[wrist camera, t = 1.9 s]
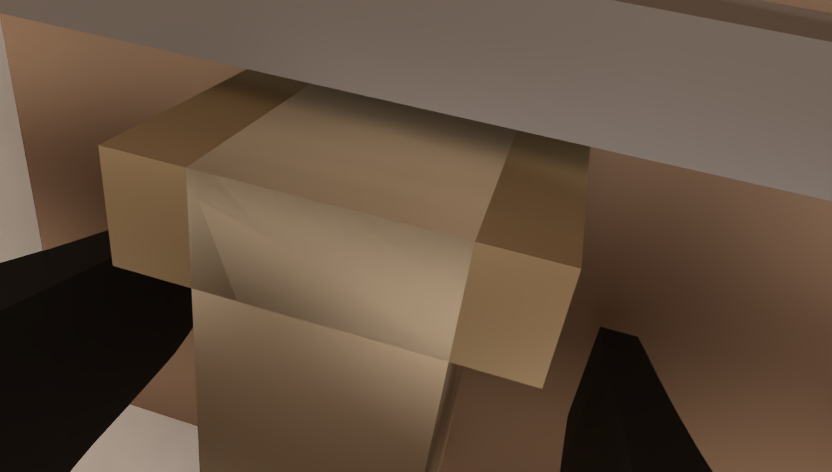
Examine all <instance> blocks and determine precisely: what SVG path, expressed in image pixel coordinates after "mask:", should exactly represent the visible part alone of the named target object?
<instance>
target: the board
mask: <svg viewBox="0 0 832 472" xmlns="http://www.w3.org/2000/svg"><path fill="white" fill-rule="evenodd" d="M0 19H1V25H2V30H3V35H4V41H5V46H6V52H7V57H8V63H9V68H10V74H11V79H12V84H13V90H14V95H15V101H16V106H17V112H18V117H19V122H20V128H21V133H22V139H23V144H24V150H25V155H26V160H27V166H28V171H29V177H30V182H31V188H32V193H33V199H34V204H35V209H36V215H37V220H38V226H39V231H40V237H41V242H42V247H43V251H44V250H47V249H51V248H54V247H57V246H60V245H63V244H66V243H69V242H73V241H76V240H79V239H82V238H85V237H88V236H91V235H94V234H97V233H100V232H104V231H107V230H108V222H107V214H106V206H105V197H104V189H103V181H102V172H101V164H100V156H99V147H98V145H100V144H102V143H104V142H106V141H107V140H109V139H111V138H113V137H115V136H117V135H119V134H121V133H123V132H125V131H127V130H129V129H131V128H133V127H135V126H137V125H139V124H141V123H143V122H145V121H147V120H149V119H151V118H152V117H154V116H156V115H158V114H160V113H162V112H164V111H166V110H168V109H170V108H172V107H174V106H176V105H178V104H180V103H182V102H184V101H186V100H188V99H190V98H192V97H194V96H196V95H197V94H199V93H201V92H203V91H205V90H207V89H209V88H211V87H213V86H215V85H217V84H219V83H221V82H223V81H225V80H227V79H229V78H231V77H233V76H235V75H237V74H239V73H240V72H242V71H244V70H246V69H249V70H253V71H258V72H262V73H267V74H271V75H276V76H280V77H284V78H289V79H293V80H298V81H302V82H307V83H311V84H315V85H320V86H324V87H329V88H333V89H337V90H342V91H346V92H351V93H355V94H360V95H364V96H368V97H373V98H377V99H382V100H386V101H391V102H395V103H399V104H404V105H408V106H413V107H417V108H421V109H426V110H430V111H435V112H439V113H444V114H448V115H452V116H457V117H461V118H466V119H470V120H474V121H479V122H483V123H488V124H492V125H497V126H501V127H505V128H510V129H514V130H519V131H523V132H528V133H532V134H536V135H541V136H545V137H550V138H554V139H558V140H563V141H567V142H572V143H576V144H581V145H585V146H589V147H590V158H589V172H588V185H587V199H586V213H585V226H584V240H583V254H582V267H581V272H580V275H579V278H578V281H577V284H576V287H575V290H574V293H573V296H572V299H571V302H570V305H569V308H568V311H567V314H566V318H565V321H564V324H563V327H562V330H561V333H560V336H559V339H558V342H557V345H556V348H555V351H554V354H553V357H552V361H551V364H550V367H549V370H548V373H547V376H546V379H545V382H544V385H543V388H542V389H541V388H537V387H534V386H530V385H527V384H524V383H520V382H517V381H513V380H510V379H506V378H503V377H499V376H496V375H492V374H489V373H485V372H482V371H478V370H475V369H471V368H468V367H464V372H463V376H462V380H461V384H460V389H459V393H458V397H457V401H456V405H455V410H454V414H453V418H452V422H451V427H450V431H449V435H448V439H447V444H446V448H445V452H444V456H443V460H442V463H441V467H440V470H439V472H560V467H561V459H562V452H563V444H564V437H565V430H566V424H567V417H568V413H569V411H570V408H571V405H572V402H573V400H574V397H575V394H576V391H577V389H578V386H579V383H580V380H581V378H582V375H583V372H584V369H585V367H586V364H587V361H588V358H589V356H590V353H591V350H592V347H593V345H594V342H595V339H596V336H597V334H598V331H599V328H600V327H604V328H607V329H611V330H615V331H619V332H622V333H626V334H630V335H634V336H637V337H638V338H639V340H640V341H641V343H642V345H643V347H644V349H645V351H646V353H647V355H648V357H649V359H650V361H651V363H652V365H653V367H654V369H655V371H656V373H657V375H658V377H659V379H660V381H661V383H662V385H663V386H664V388H665V390H666V392H667V394H668V396H669V398H670V400H671V402H672V404H673V405H674V407H675V409H676V411H677V413H678V414H679V416H680V418H681V420H682V421H683V423H684V425H685V427H686V428H687V430H688V432H689V434H690V435H691V437H692V439H693V441H694V442H695V444H696V446H697V447H698V449H699V451H700V452H701V454H702V456H703V457H704V459H705V461H706V462H707V464H708V465H709V467H710V468H711V470H712V471H713V472H832V0H0ZM130 404H131V405H134V406H137V407H140V408H143V409H147V410H150V411H153V412H156V413H159V414H162V415H165V416H168V417H171V418H174V419H178V420H181V421H184V422H187V423H190V424H193V425H196V426H198V419H197V397H196V376H195V354H194V333H193V328H192V330H191V331H190V333H189V334H188V336H187V337H186V339H185V340H184V341H183V343H182V344H181V346H180V347H179V348H178V350H177V351H176V353H175V354H174V355H173V356H172V357H171V359H170V360H169V361H168V362H167V363H166V364H165V365H164V367H163V368H162V369H161V370H160V371H159V372H158V373H157V374H156V376H155V377H154V378H153V379H152V380H151V381H150V382H149V383H148V384H147V386H146V387H145V388H144V389H143V390H142V391H141V392H140V393H139V394H138V395H137V397H136V398H135V399H134V400H133V401H132V402H131V403H130Z"/></svg>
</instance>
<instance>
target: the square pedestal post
mask: <svg viewBox="0 0 832 472" xmlns="http://www.w3.org/2000/svg"><path fill="white" fill-rule="evenodd" d="M98 147H99V156H100V164H101V172H102V181H103V189H104V197H105V206H106V214H107V222H108V230H109V239H110V247H111V255H112V264H113V266H116V267H119V268H123V269H126V270H130V271H133V272H137V273H140V274H144V275H147V276H151V277H154V278H158V279H161V280H164V281H168V282H171V283H175V284H178V285H182V286H185V287H189V288H191V290H192V311H193V333H194V354H195V376H196V397H197V419H198V440H199V462H200V472H439V470H440V467H441V463H442V460H443V456H444V452H445V448H446V444H447V439H448V435H449V431H450V427H451V422H452V418H453V414H454V410H455V405H456V401H457V397H458V393H459V389H460V384H461V380H462V376H463V372H464V367H468V368H471V369H475V370H478V371H482V372H485V373H489V374H492V375H496V376H499V377H503V378H506V379H510V380H513V381H517V382H520V383H524V384H527V385H530V386H534V387H537V388H541V389H542V388H543V385H544V382H545V379H546V376H547V373H548V370H549V367H550V364H551V361H552V357H553V354H554V351H555V348H556V345H557V342H558V339H559V336H560V333H561V330H562V327H563V324H564V321H565V318H566V314H567V311H568V308H569V305H570V302H571V299H572V296H573V293H574V290H575V287H576V284H577V281H578V278H579V275H580V272H581V267H582V254H583V240H584V226H585V213H586V199H587V185H588V172H589V158H590V147H589V146H585V145H581V144H576V143H572V142H567V141H563V140H558V139H554V138H550V137H545V136H541V135H536V134H532V133H528V132H523V131H519V130H514V129H510V128H505V127H501V126H497V125H492V124H488V123H483V122H479V121H474V120H470V119H466V118H461V117H457V116H452V115H448V114H444V113H439V112H435V111H430V110H426V109H421V108H417V107H413V106H408V105H404V104H399V103H395V102H391V101H386V100H382V99H377V98H373V97H368V96H364V95H360V94H355V93H351V92H346V91H342V90H337V89H333V88H329V87H324V86H320V85H315V84H311V83H307V82H302V81H298V80H293V79H289V78H284V77H280V76H276V75H271V74H267V73H262V72H258V71H253V70H249V69H246V70H244V71H242V72H240V73H239V74H237V75H235V76H233V77H231V78H229V79H227V80H225V81H223V82H221V83H219V84H217V85H215V86H213V87H211V88H209V89H207V90H205V91H203V92H201V93H199V94H197V95H196V96H194V97H192V98H190V99H188V100H186V101H184V102H182V103H180V104H178V105H176V106H174V107H172V108H170V109H168V110H166V111H164V112H162V113H160V114H158V115H156V116H154V117H152V118H151V119H149V120H147V121H145V122H143V123H141V124H139V125H137V126H135V127H133V128H131V129H129V130H127V131H125V132H123V133H121V134H119V135H117V136H115V137H113V138H111V139H109V140H107V141H106V142H104V143H102V144H100V145H98Z"/></svg>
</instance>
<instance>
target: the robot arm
mask: <svg viewBox="0 0 832 472" xmlns="http://www.w3.org/2000/svg"><path fill="white" fill-rule="evenodd" d="M192 328H193V311H192V290H191V288H189V287H185V286H182V285H178V284H175V283H171V282H168V281H164V280H161V279H158V278H154V277H151V276H147V275H144V274H140V273H137V272H133V271H130V270H126V269H123V268H119V267H116V266H113V264H112V255H111V247H110V239H109V230H107V231H104V232H100V233H97V234H94V235H91V236H88V237H85V238H82V239H79V240H76V241H73V242H69V243H66V244H63V245H60V246H57V247H54V248H51V249H47V250H44V251H40V252H37V253H33V254H30V255H26V256H23V257H19V258H16V259H13V260H9V261H6V262H2V263H0V472H70V471H71V470H72V468H73V467H74V466H75V465H76V464H77V462H78V461H79V460H80V459H81V458H82V456H83V455H84V454H85V453H86V452H87V451H88V449H89V448H90V447H91V446H92V445H93V444H94V442H95V441H96V440H97V439H98V438H99V437H100V436H101V435H102V434H103V433H104V432H105V430H106V429H107V428H108V427H109V426H110V425H111V424H112V423H113V422H114V421H115V419H116V418H117V417H118V416H119V415H120V414H121V413H122V412H123V411H124V410H125V409H126V407H127V406H128V405H129V404H130V403H131V402H132V401H133V400H134V399H135V398H136V397H137V395H138V394H139V393H140V392H141V391H142V390H143V389H144V388H145V387H146V386H147V384H148V383H149V382H150V381H151V380H152V379H153V378H154V377H155V376H156V374H157V373H158V372H159V371H160V370H161V369H162V368H163V367H164V365H165V364H166V363H167V362H168V361H169V360H170V359H171V357H172V356H173V355H174V354H175V353H176V351H177V350H178V348H179V347H180V346H181V344H182V343H183V341H184V340H185V339H186V337H187V336H188V334H189V333H190V331H191V330H192ZM560 472H713V471H712V470H711V468H710V467H709V465H708V464H707V462H706V461H705V459H704V457H703V456H702V454H701V452H700V451H699V449H698V447H697V446H696V444H695V442H694V441H693V439H692V437H691V435H690V434H689V432H688V430H687V428H686V427H685V425H684V423H683V421H682V420H681V418H680V416H679V414H678V413H677V411H676V409H675V407H674V405H673V404H672V402H671V400H670V398H669V396H668V394H667V392H666V390H665V388H664V386H663V385H662V383H661V381H660V379H659V377H658V375H657V373H656V371H655V369H654V367H653V365H652V363H651V361H650V359H649V357H648V355H647V353H646V351H645V349H644V347H643V345H642V343H641V341H640V340H639V338H638V337H637V336H634V335H630V334H626V333H622V332H619V331H615V330H611V329H607V328H604V327H600V328H599V331H598V334H597V336H596V339H595V342H594V345H593V347H592V350H591V353H590V356H589V358H588V361H587V364H586V367H585V369H584V372H583V375H582V378H581V380H580V383H579V386H578V389H577V391H576V394H575V397H574V400H573V402H572V405H571V408H570V411H569V413H568V417H567V424H566V430H565V437H564V444H563V452H562V459H561V467H560Z"/></svg>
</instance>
